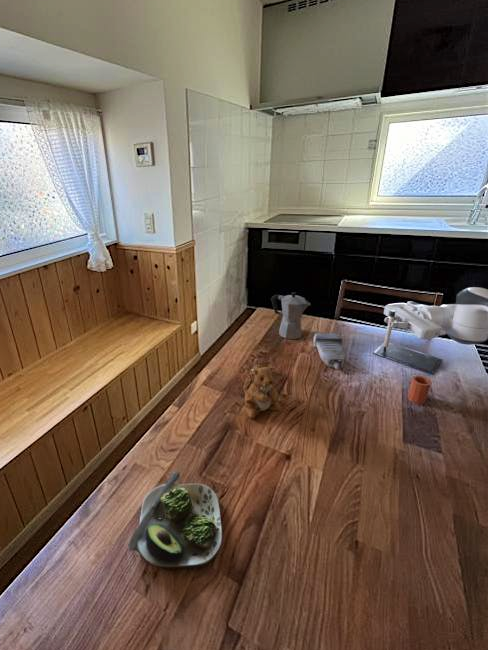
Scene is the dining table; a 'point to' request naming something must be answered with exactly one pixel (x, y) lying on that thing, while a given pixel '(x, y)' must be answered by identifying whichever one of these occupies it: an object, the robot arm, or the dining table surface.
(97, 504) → the dining table surface
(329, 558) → the dining table surface
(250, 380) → the stuffed squirrel
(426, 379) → the pen cup
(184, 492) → the salad plate
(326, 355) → the handheld device
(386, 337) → the stylus
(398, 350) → the tablet
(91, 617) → the dining table surface
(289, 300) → the coffeepot
